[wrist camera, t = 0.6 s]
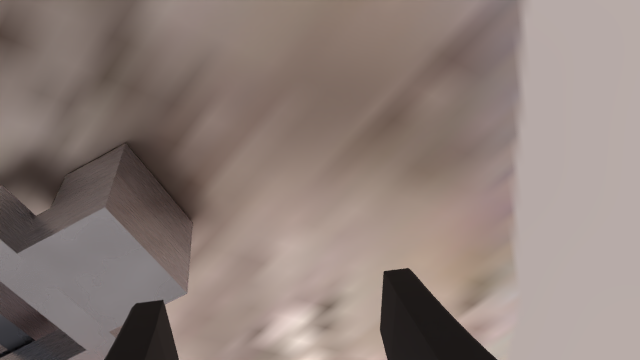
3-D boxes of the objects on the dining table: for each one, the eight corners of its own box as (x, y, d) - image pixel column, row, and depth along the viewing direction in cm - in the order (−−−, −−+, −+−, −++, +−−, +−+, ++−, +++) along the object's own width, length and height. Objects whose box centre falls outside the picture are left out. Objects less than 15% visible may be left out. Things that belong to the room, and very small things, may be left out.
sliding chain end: (11, 346, 24) (-25, 431, 20) (-136, 241, 20) (-212, 324, 16) (212, 245, 22) (210, 317, 19) (99, 111, 18) (70, 171, 15)
